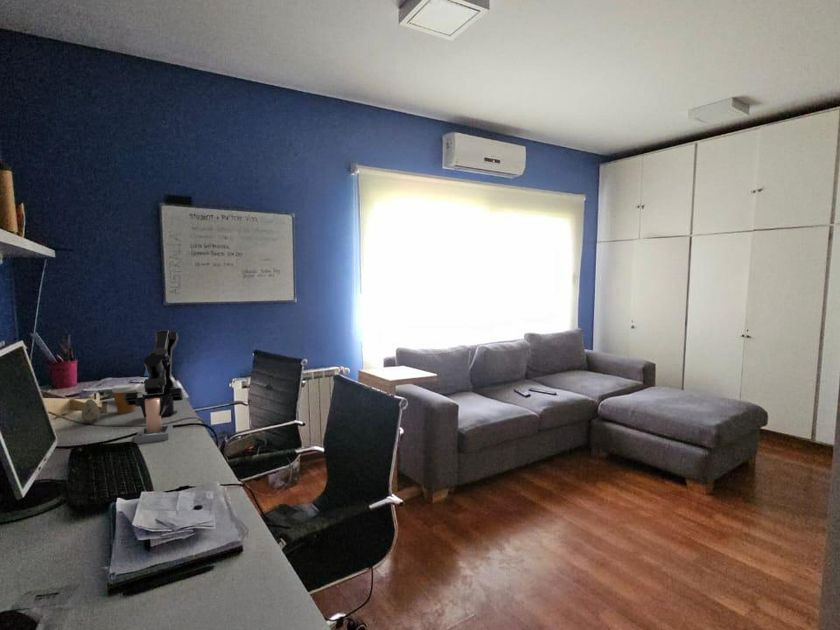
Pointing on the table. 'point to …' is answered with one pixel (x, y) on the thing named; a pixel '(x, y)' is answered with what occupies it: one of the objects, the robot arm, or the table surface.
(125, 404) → the disposable coffee cup
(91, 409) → the decorative egg
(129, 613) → the table surface
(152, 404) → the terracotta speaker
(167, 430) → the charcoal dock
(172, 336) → the robot arm
